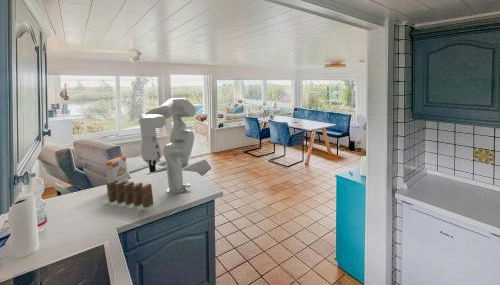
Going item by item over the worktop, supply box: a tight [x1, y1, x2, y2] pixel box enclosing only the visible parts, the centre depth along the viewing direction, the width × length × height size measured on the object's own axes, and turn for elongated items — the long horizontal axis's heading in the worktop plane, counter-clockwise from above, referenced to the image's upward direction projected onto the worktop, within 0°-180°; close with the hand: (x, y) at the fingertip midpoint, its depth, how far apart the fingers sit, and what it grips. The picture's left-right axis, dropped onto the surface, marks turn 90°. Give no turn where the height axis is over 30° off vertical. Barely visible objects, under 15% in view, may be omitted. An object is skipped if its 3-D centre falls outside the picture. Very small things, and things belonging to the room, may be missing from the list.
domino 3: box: [123, 181, 135, 205], centre depth 165 cm, size 2×6×12 cm, turn 158°
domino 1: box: [106, 180, 118, 202], centre depth 170 cm, size 2×6×12 cm, turn 158°
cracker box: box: [105, 156, 129, 183], centre depth 190 cm, size 14×6×21 cm, turn 168°
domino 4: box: [132, 182, 144, 206], centre depth 162 cm, size 2×6×12 cm, turn 158°
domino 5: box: [140, 183, 154, 207], centre depth 160 cm, size 2×6×12 cm, turn 158°
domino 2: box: [115, 181, 126, 203], centre depth 167 cm, size 2×6×12 cm, turn 158°
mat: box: [99, 197, 164, 212], centre depth 166 cm, size 38×12×1 cm, turn 68°
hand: (152, 171), depth 154 cm, fingers closed
